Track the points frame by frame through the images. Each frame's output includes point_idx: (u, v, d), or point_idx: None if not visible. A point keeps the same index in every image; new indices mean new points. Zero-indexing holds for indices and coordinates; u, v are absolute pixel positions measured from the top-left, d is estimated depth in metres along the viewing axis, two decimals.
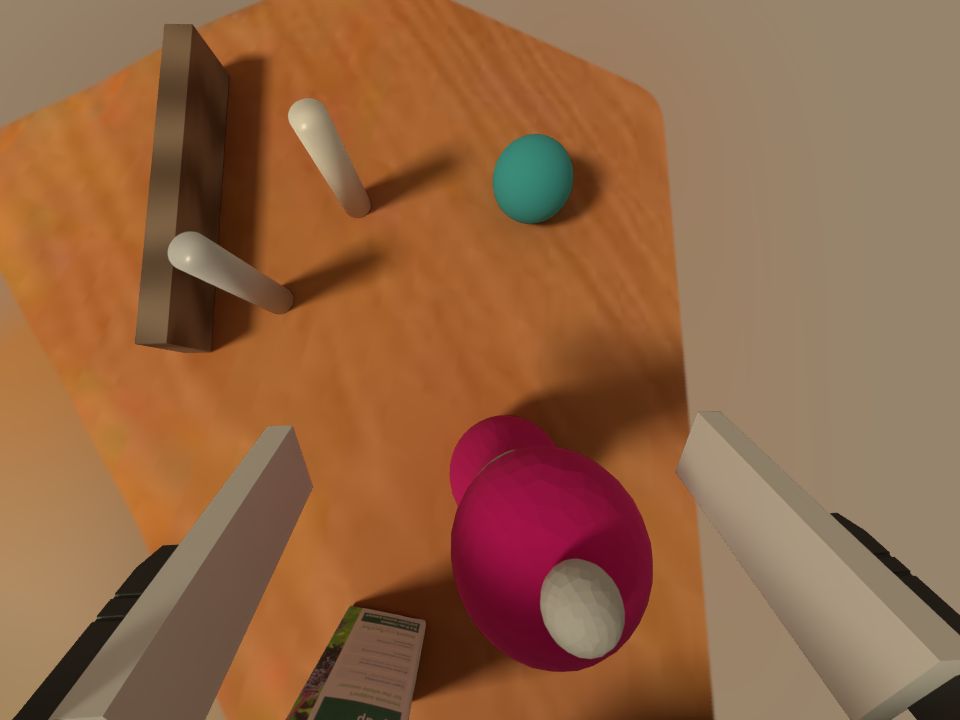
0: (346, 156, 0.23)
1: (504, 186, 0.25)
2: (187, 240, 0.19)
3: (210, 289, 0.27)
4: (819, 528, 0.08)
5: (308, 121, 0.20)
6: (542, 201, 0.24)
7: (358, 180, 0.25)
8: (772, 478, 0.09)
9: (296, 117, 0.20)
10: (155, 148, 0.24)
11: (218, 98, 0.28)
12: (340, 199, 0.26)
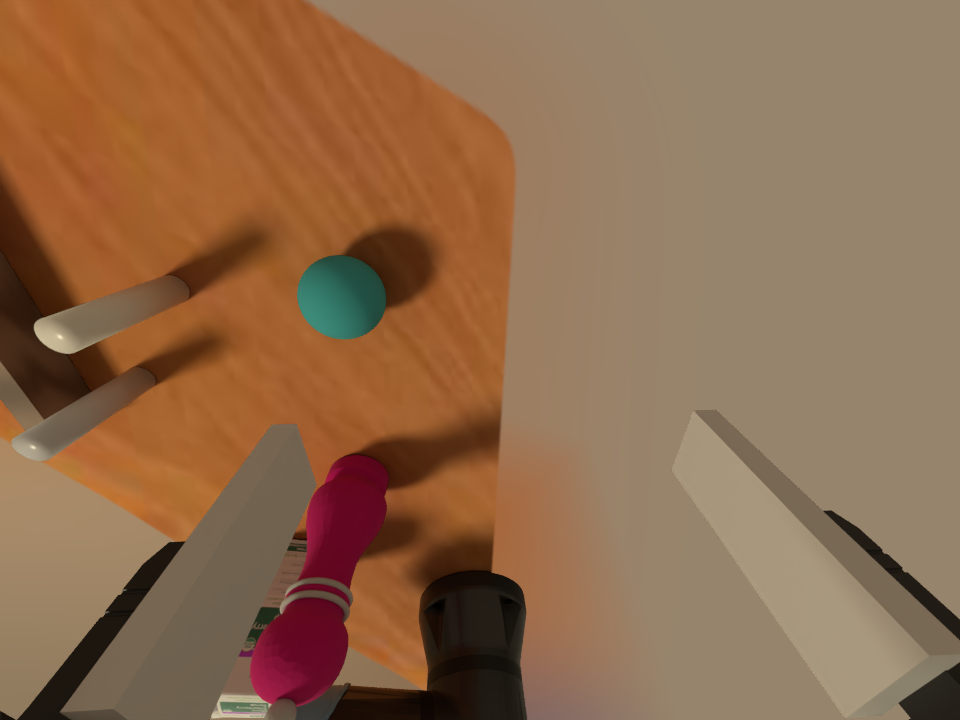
0: (126, 316, 0.22)
1: (308, 322, 0.25)
2: (24, 441, 0.23)
3: (71, 373, 0.30)
4: (812, 525, 0.08)
5: (62, 342, 0.20)
6: (348, 338, 0.25)
7: (156, 303, 0.25)
8: (766, 476, 0.09)
9: (47, 338, 0.19)
10: None
11: None
12: None
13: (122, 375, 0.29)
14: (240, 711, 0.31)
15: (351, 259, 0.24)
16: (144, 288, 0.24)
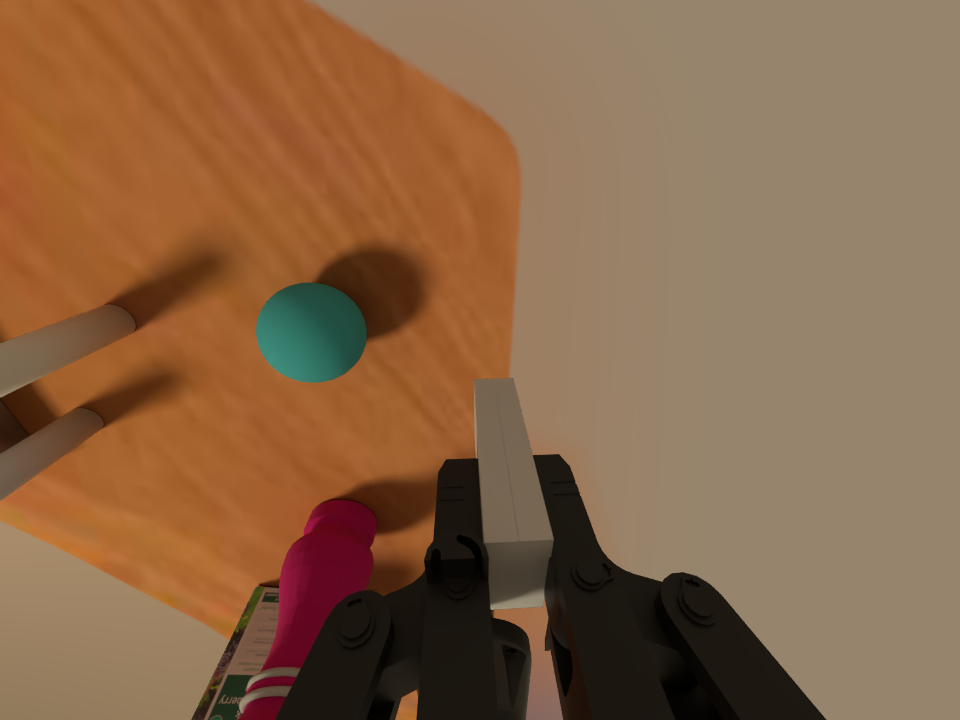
0: (42, 363, 0.18)
1: None
2: None
3: (3, 417, 0.26)
4: (513, 460, 0.09)
5: None
6: (320, 381, 0.21)
7: (87, 341, 0.20)
8: (509, 426, 0.11)
9: None
10: None
11: None
12: None
13: (60, 419, 0.25)
14: None
15: (322, 288, 0.20)
16: (71, 324, 0.20)
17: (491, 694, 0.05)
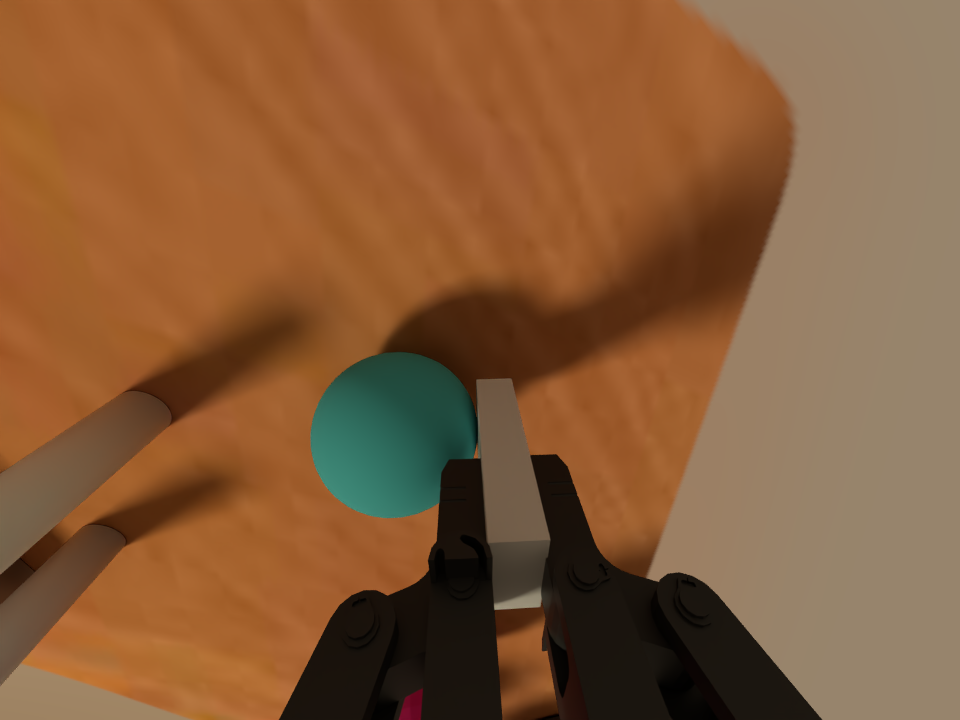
0: (30, 529, 0.10)
1: None
2: None
3: None
4: (510, 460, 0.09)
5: None
6: None
7: (104, 465, 0.13)
8: (507, 426, 0.11)
9: None
10: None
11: None
12: None
13: (65, 550, 0.17)
14: None
15: (409, 370, 0.11)
16: (77, 440, 0.12)
17: (495, 694, 0.05)
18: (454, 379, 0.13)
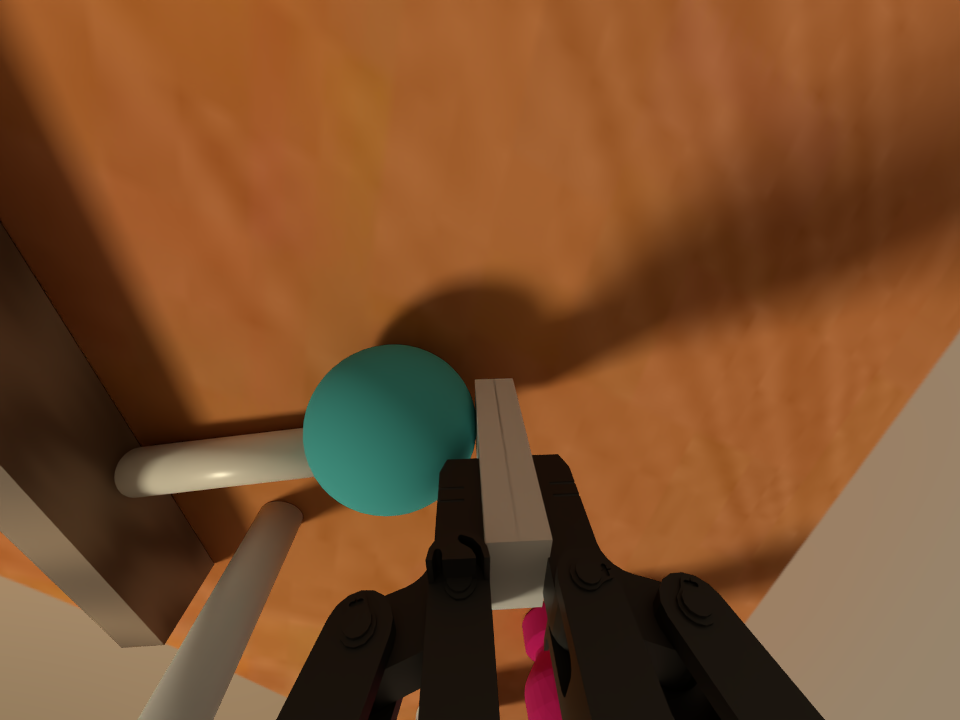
0: None
1: None
2: None
3: (173, 517, 0.18)
4: (512, 460, 0.09)
5: None
6: None
7: None
8: (508, 426, 0.11)
9: None
10: None
11: None
12: (281, 431, 0.15)
13: (263, 525, 0.17)
14: None
15: (403, 365, 0.11)
16: None
17: (492, 694, 0.05)
18: (448, 400, 0.11)
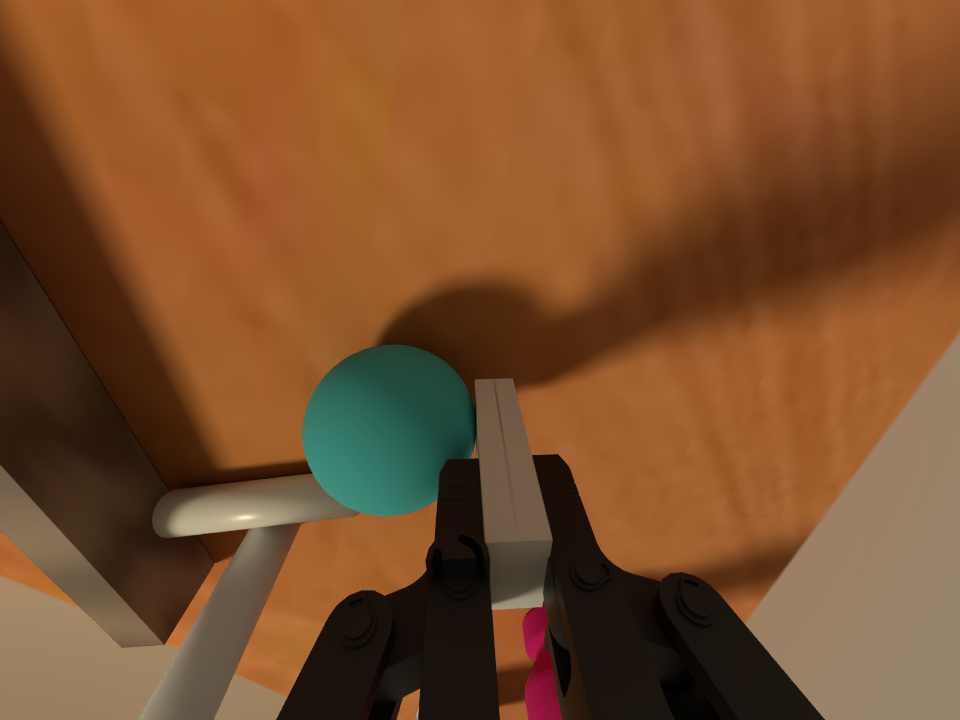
0: (222, 498, 0.16)
1: None
2: None
3: None
4: (512, 460, 0.09)
5: None
6: None
7: (277, 491, 0.16)
8: (508, 426, 0.11)
9: None
10: None
11: None
12: (308, 521, 0.17)
13: None
14: None
15: (403, 365, 0.11)
16: (294, 475, 0.17)
17: (492, 694, 0.05)
18: (448, 400, 0.11)
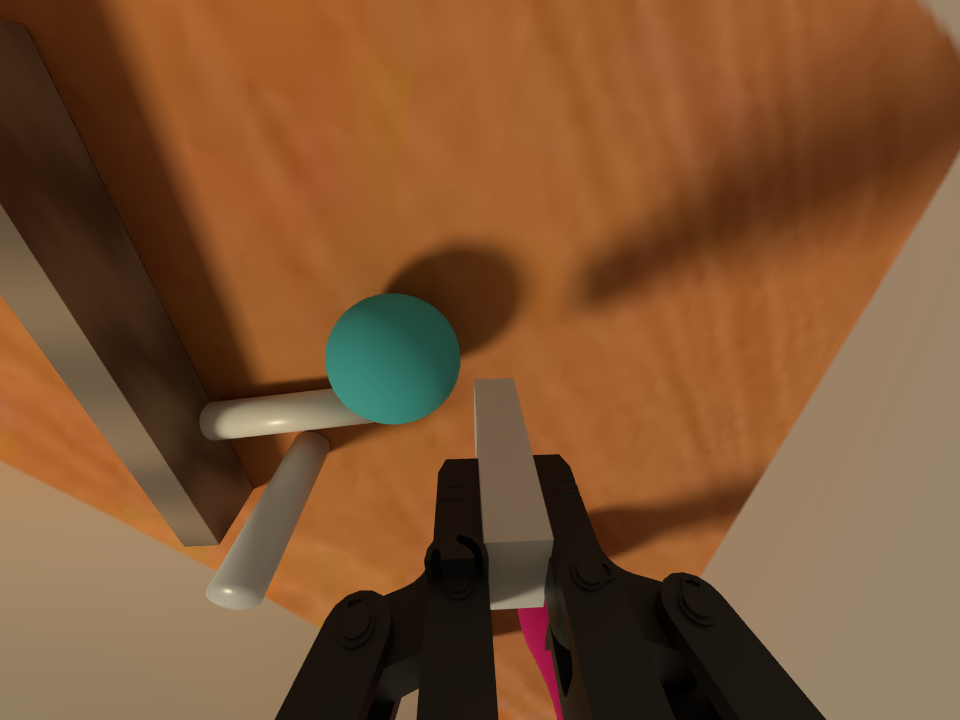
0: (270, 395, 0.20)
1: None
2: (226, 589, 0.14)
3: (223, 442, 0.21)
4: (513, 460, 0.09)
5: None
6: None
7: (314, 391, 0.20)
8: (509, 426, 0.11)
9: None
10: (36, 336, 0.14)
11: (53, 133, 0.13)
12: (322, 414, 0.19)
13: (299, 447, 0.21)
14: None
15: (395, 311, 0.14)
16: None
17: (491, 694, 0.05)
18: (426, 343, 0.14)
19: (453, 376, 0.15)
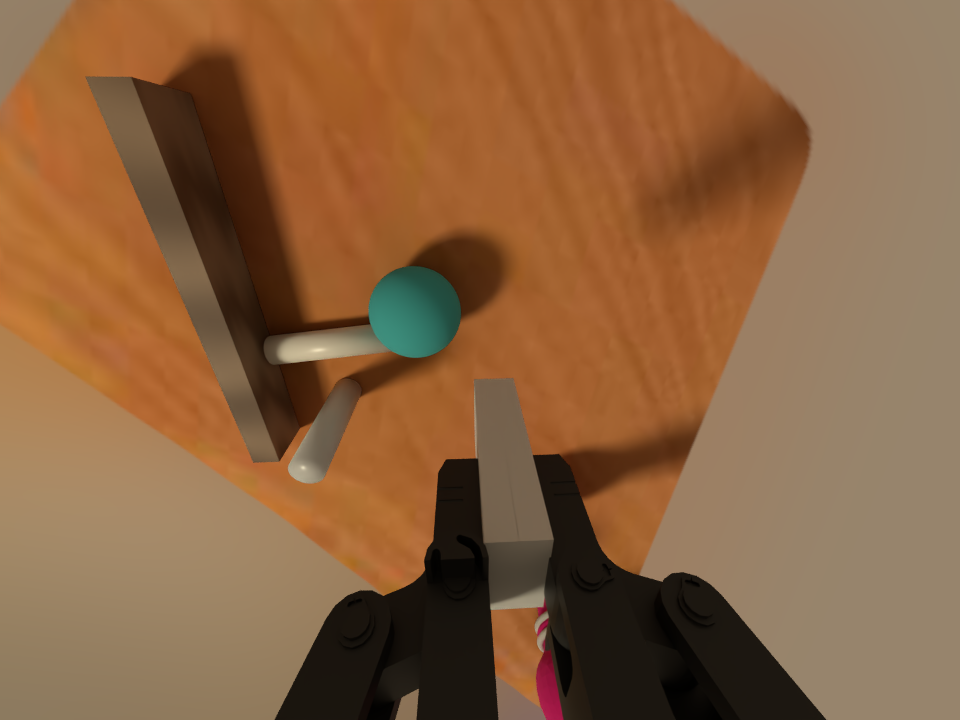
0: None
1: None
2: (302, 463, 0.21)
3: (282, 385, 0.28)
4: (513, 460, 0.09)
5: None
6: None
7: None
8: (509, 426, 0.11)
9: None
10: (181, 291, 0.21)
11: (201, 159, 0.20)
12: (356, 326, 0.26)
13: (340, 387, 0.28)
14: None
15: (417, 275, 0.21)
16: None
17: (491, 694, 0.05)
18: (437, 297, 0.21)
19: (455, 323, 0.22)
